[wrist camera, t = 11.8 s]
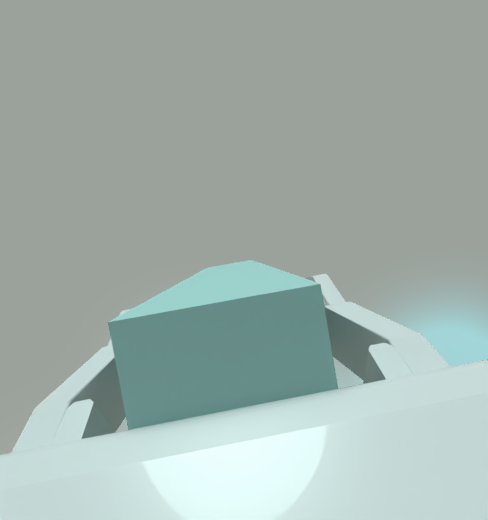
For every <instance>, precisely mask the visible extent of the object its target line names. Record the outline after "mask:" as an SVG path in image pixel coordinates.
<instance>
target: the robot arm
mask: <svg viewBox="0 0 488 520" xmlns="http://www.w3.org/2000/svg"><path fill="white" fill-rule="evenodd" d="M305 279H308V280H311V281H314V282H317V283H320V284H321V290H322V296H323V302H324V308H325V314H326V320H327V326H328V332H329V338H330V344H331V349H332V355H333V357H334V358H336V359H337V360H338V361H340V362H341V363H342V364H343V365H345V366H346V367H347V368H349V369H350V370H351V371H352V372H354V373H355V374H356V375H357V376H359V377H360V378H361V379H362V380H364V382H363V384H360V385H355V386H349V387H345V388H340V389H334V390H329V391H324V392H319V393H314V394H309V395H304V396H298V397H293V398H288V399H283V400H278V401H273V402H268V403H263V404H258V405H253V406H247V407H242V408H237V409H232V410H227V411H222V412H217V413H212V414H207V415H202V416H196V417H191V418H186V419H181V420H176V421H171V422H166V423H161V424H156V425H150V426H145V427H140V428H135V429H130V430H126V431H120V432H115V431H116V430H117V429H118V427H119V426H120V424H121V423H122V421H123V420H124V418H125V417H126V414H125V409H124V404H123V399H122V393H121V388H120V383H119V378H118V372H117V367H116V362H115V357H114V351H113V346H112V341H111V338H110V341H109V344H108V346H107V347H103V348H102V349H101V350H99V351H98V352H97V353H96V354H95V355H94V356H93V357H92V358H90V359H89V360H88V361H87V362H86V363H85V364H84V365H83V366H82V367H80V368H79V369H78V370H77V371H76V372H75V373H74V374H73V375H71V376H70V377H69V378H68V379H67V380H66V381H65V382H64V383H63V384H61V385H60V386H59V387H58V388H57V389H56V390H55V391H54V392H52V393H51V394H50V395H49V396H48V397H47V398H46V399H45V400H44V401H42V402H41V403H40V404H39V405H38V406H37V407H36V408H35V409H34V411H33V413H32V415H31V417H30V419H29V421H28V422H27V424H26V426H25V428H24V430H23V432H22V434H21V435H20V438H19V439H18V442H17V443H16V445H15V447H14V449H13V451H12V452H11V453H8V454H3V455H0V520H488V359H487V360H482V361H477V362H472V363H467V364H462V365H457V366H452V367H450V366H449V365H448V364H447V363H446V362H445V360H444V359H443V358H442V357H441V356H440V355H439V354H438V353H437V352H436V350H435V349H434V348H433V347H432V346H431V345H430V344H429V343H428V341H427V340H426V339H425V338H424V337H423V336H422V335H421V334H419V333H417V332H415V331H412V330H410V329H408V328H406V327H404V326H402V325H400V324H397V323H395V322H393V321H391V320H389V319H386V318H384V317H382V316H380V315H378V314H376V313H373V312H371V311H369V310H367V309H365V308H363V307H361V306H359V305H356V304H354V303H352V302H345V300H344V299H343V297H342V296H341V294H340V293H339V292H338V290H337V289H336V287H335V286H334V284H333V283H332V281H331V280H330V278H329V277H328V276H327V275H326V274H321V275H317V276H312V277H309V278H305ZM129 310H131V309H129ZM129 310H124V311H122V312H121V313H120V314H119V316H120V315H122V314H124V313H126V312H128V311H129Z"/></svg>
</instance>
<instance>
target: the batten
mask: <svg viewBox="0 0 488 520" xmlns="http://www.w3.org/2000/svg"><path fill="white" fill-rule="evenodd" d="M108 325H109V330H110V336H111V341H112V346H113V351H114V357H115V362H116V367H117V372H118V378H119V383H120V388H121V393H122V399H123V404H124V409H125V414H126V420H127V425H128V430H130V429H135V428H140V427H145V426H150V425H156V424H161V423H166V422H171V421H176V420H181V419H186V418H191V417H196V416H202V415H207V414H212V413H217V412H222V411H227V410H232V409H237V408H242V407H247V406H253V405H258V404H263V403H268V402H273V401H278V400H283V399H288V398H293V397H298V396H304V395H309V394H314V393H319V392H324V391H329V390H334V389H338V385H337V379H336V374H335V368H334V361H333V355H332V349H331V344H330V338H329V332H328V326H327V320H326V314H325V308H324V302H323V296H322V290H321V284H320V283H317V282H314V281H311V280H308V279H305V278H302V277H299V276H296V275H293V274H291V273H287V272H284V271H282V270H279V269H276V268H273V267H270V266H267V265H264V264H262V263H259V262H256V261H253V260H249V261H243V262H238V263H232V264H226V265H221V266H215V267H209V268H206V269H204V270H202V271H201V272H199V273H197V274H196V275H193V276H191V277H190V278H188V279H186V280H184V281H182V282H181V283H179V284H177V285H175V286H173V287H171V288H170V289H168V290H166V291H164V292H162V293H160V294H159V295H157V296H155V297H153V298H151V299H150V300H148V301H146V302H144V303H142V304H140V305H138V306H137V307H135V308H133V309H131V310H129V311H128V312H126V313H124V314H122V315H120V316H119V317H117V318H115V319H113V320H111V321H109V322H108Z"/></svg>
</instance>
